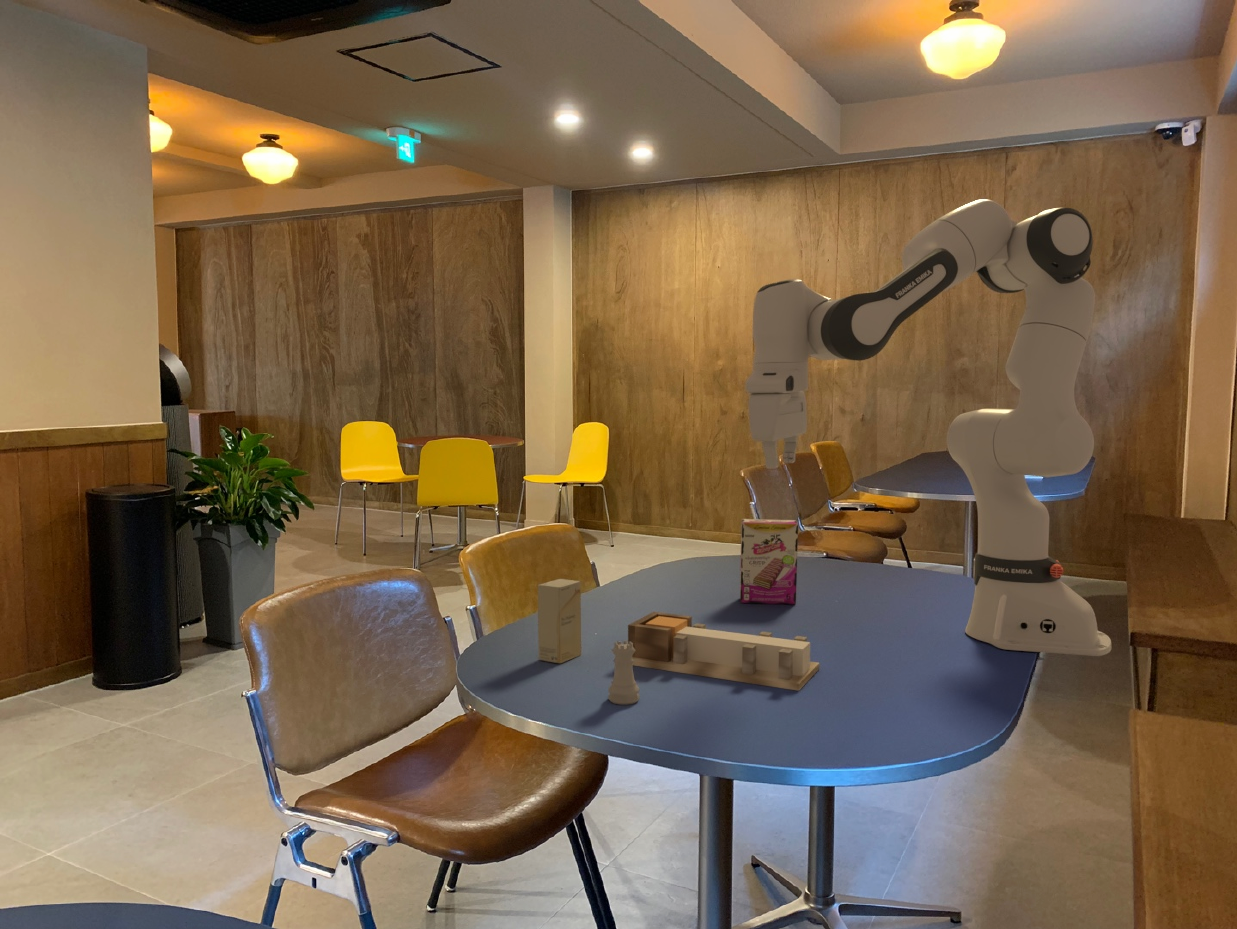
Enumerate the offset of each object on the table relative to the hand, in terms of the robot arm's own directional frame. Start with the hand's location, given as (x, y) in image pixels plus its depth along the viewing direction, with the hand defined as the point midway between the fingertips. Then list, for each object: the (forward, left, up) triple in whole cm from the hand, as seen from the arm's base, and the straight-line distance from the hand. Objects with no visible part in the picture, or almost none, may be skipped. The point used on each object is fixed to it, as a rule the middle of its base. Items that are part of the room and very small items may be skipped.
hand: (780, 465), depth 149 cm
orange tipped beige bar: (+4, +15, -29) cm, 33 cm away
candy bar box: (+11, -28, -30) cm, 43 cm away
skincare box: (+29, +23, -30) cm, 48 cm away
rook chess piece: (+11, +36, -30) cm, 48 cm away
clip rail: (+5, +16, -30) cm, 34 cm away
